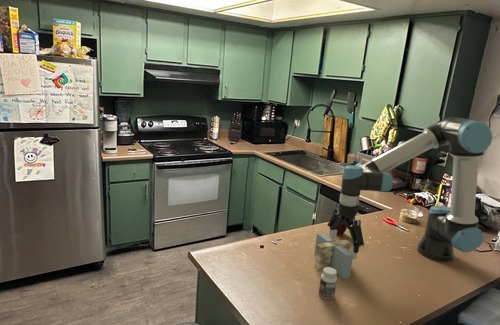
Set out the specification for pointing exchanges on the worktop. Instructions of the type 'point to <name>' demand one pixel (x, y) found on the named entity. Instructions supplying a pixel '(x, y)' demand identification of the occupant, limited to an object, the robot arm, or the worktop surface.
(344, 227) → the mug
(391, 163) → the robot arm
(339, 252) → the slate notched block
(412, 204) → the worktop surface
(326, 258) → the beige flat block
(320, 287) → the pill bottle
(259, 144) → the worktop surface
